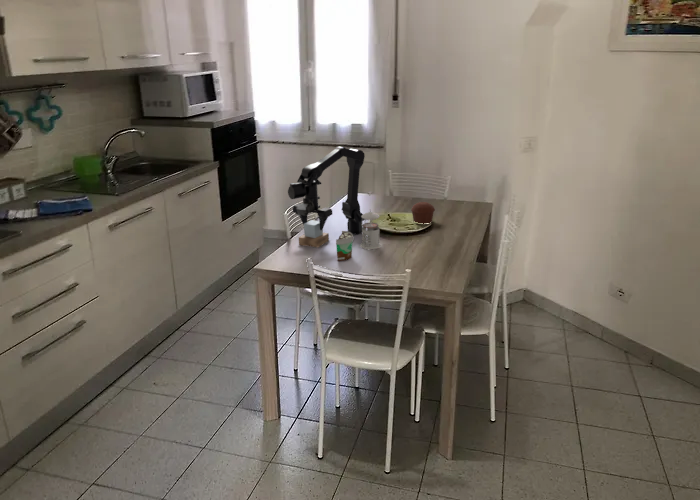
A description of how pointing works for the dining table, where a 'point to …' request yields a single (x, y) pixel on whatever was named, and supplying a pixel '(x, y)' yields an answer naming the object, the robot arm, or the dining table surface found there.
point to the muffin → (422, 212)
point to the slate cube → (312, 229)
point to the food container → (344, 246)
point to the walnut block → (314, 240)
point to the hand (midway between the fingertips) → (313, 228)
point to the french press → (370, 231)
